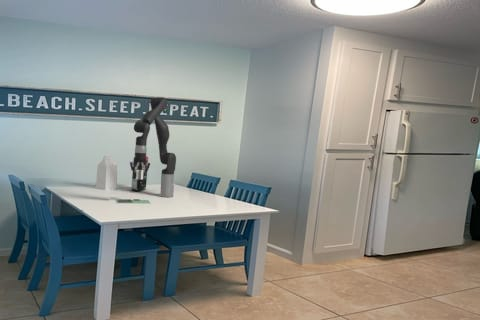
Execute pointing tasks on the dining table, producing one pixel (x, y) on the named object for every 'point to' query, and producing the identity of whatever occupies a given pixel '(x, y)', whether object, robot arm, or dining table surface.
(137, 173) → the plug
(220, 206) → the dining table surface
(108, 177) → the milk
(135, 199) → the board
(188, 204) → the dining table surface
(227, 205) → the dining table surface
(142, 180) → the graphics card box
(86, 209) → the dining table surface
